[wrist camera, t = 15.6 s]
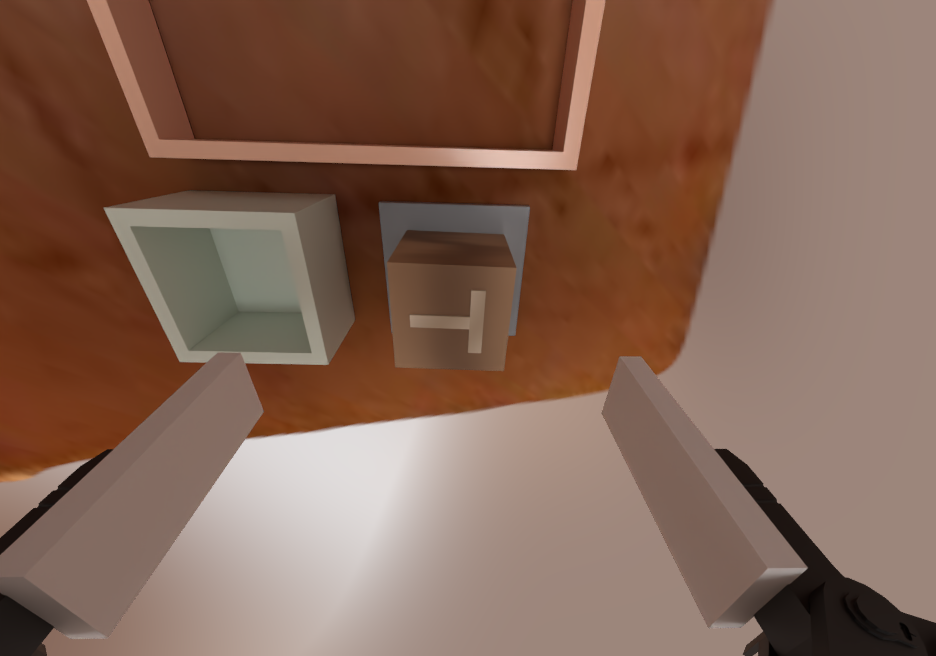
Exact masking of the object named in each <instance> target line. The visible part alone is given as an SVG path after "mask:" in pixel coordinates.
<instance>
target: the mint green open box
mask: <svg viewBox="0 0 936 656" xmlns="http://www.w3.org/2000/svg"><path fill="white" fill-rule="evenodd" d="M104 210H105V212H106V214H107V216H108V218H109V220H110V222H111V224H112V226H113V228H114V230H115V232H116V234H117V236H118V238H119V240H120V242H121V244H122V246H123V248H124V250H125V252H126V254H127V257H128V259H129V261H130V263H131V265H132V267H133V269H134V271H135V273H136V275H137V277H138V279H139V281H140V283H141V285H142V287H143V289H144V291H145V293H146V295H147V297H148V299H149V301H150V303H151V305H152V307H153V309H154V311H155V313H156V315H157V317H158V319H159V321H160V323H161V325H162V327H163V329H164V331H165V333H166V335H167V337H168V339H169V341H170V343H171V345H172V347H173V349H174V351H175V353H176V355H177V357H178V359H179V361H180V362H208V361H209V360H210V359H211V358H212V357H213V356H214V355H216V354H217V353H218V352H224V353H241V355H242V357H243V360H244V362H245V363H260V364H311V365H329V363H330V361H331V360H332V358H333V356H334V355H335V353H336V351H337V350H338V348H339V346H340V345H341V343H342V341H343V340H344V338H345V336H346V334H347V333H348V331H349V329H350V328H351V326H352V324H353V323H354V321H355V315H354V309H353V303H352V297H351V290H350V284H349V278H348V272H347V266H346V259H345V253H344V247H343V241H342V235H341V228H340V222H339V216H338V210H337V203H336V197H335V194H307V193H272V192H237V191H201V190H188V191H183V192H178V193H173V194H169V195H164V196H159V197H154V198H149V199H144V200H139V201H134V202H129V203H124V204H119V205H115V206H110V207H105V208H104Z"/></svg>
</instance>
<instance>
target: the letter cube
mask: <svg viewBox="0 0 936 656" xmlns="http://www.w3.org/2000/svg"><path fill="white" fill-rule="evenodd" d="M387 269H388V282H389V295H390V308H391V320H392V333H393V346H394V359H395V367H400V368H429V369H458V370H487V371H504V366H505V358H506V350H507V341H508V333H509V325H510V317H511V309H512V301H513V293H514V285H515V277H516V269H517V267H516V265H515V262H514V259H513V257H512V254H511V251H510V249H509V246H508V244H507V241H506V238H505V236H504V234H484V233H462V232H440V231H418V230H407V231H406V232H405V234H404V236H403V237H402V239H401V240H400V242H399V244H398V245H397V247H396V249H395V250H394V252H393V253H392V255H391V257H390V258H389V260H388V262H387Z"/></svg>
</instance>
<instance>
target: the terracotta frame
mask: <svg viewBox="0 0 936 656" xmlns="http://www.w3.org/2000/svg"><path fill="white" fill-rule="evenodd" d="M87 2H88V4H89V7H90V9H91V12H92V14H93V17H94V19H95V22H96V24H97V27H98V29H99V32H100V34H101V37H102V39H103V42H104V44H105V47H106V49H107V52H108V54H109V57H110V59H111V62H112V64H113V67H114V69H115V72H116V74H117V77H118V79H119V82H120V84H121V87H122V89H123V92H124V94H125V97H126V99H127V102H128V104H129V107H130V109H131V112H132V114H133V117H134V119H135V122H136V124H137V127H138V129H139V132H140V134H141V137H142V139H143V142H144V144H145V147H146V149H147V152H148V154H149V157H158V158H191V159H224V160H258V161H291V162H324V163H357V164H390V165H424V166H457V167H490V168H523V169H556V170H576V168H577V162H578V157H579V151H580V145H581V139H582V133H583V128H584V122H585V116H586V110H587V104H588V98H589V93H590V87H591V81H592V75H593V69H594V64H595V58H596V52H597V46H598V40H599V35H600V29H601V23H602V17H603V11H604V5H605V0H573V1H572V9H571V16H570V24H569V31H568V38H567V46H566V53H565V60H564V68H563V75H562V82H561V90H560V97H559V104H558V112H557V119H556V127H555V134H554V141H553V149H552V150H536V149H504V148H472V147H440V146H408V145H375V144H343V143H311V142H279V141H247V140H215V139H195V138H194V135H193V132H192V129H191V126H190V123H189V120H188V117H187V114H186V111H185V108H184V105H183V102H182V99H181V96H180V93H179V90H178V87H177V84H176V81H175V78H174V75H173V72H172V69H171V66H170V63H169V60H168V57H167V54H166V51H165V48H164V45H163V42H162V39H161V36H160V33H159V30H158V27H157V24H156V21H155V18H154V15H153V12H152V9H151V6H150V3H149V0H87Z"/></svg>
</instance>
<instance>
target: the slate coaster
mask: <svg viewBox="0 0 936 656" xmlns="http://www.w3.org/2000/svg"><path fill="white" fill-rule="evenodd" d="M529 212H530V206H529V205H510V204H475V203H439V202H404V201H380V202H379V213H380V223H381V233H382V243H383V253H384V263H385V272H386V282H387V292H388V302H389V312H390V322H391V332H392V320H391V308H390V295H389V282H388V269H387V262H388V260H389V258H390V257H391V255H392V253H393V252H394V250H395V249H396V247H397V245H398V244H399V242H400V240H401V239H402V237H403V236H404V234H405V232H406V231H407V230H418V231H440V232H462V233H484V234H504V236H505V238H506V241H507V244H508V246H509V249H510V251H511V254H512V257H513V259H514V262H515V265H516V267H517V269H516V277H515V285H514V293H513V301H512V309H511V317H510V325H509V333H508V336H515V334H516V325H517V316H518V308H519V299H520V290H521V282H522V273H523V264H524V256H525V247H526V238H527V230H528V221H529Z"/></svg>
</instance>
